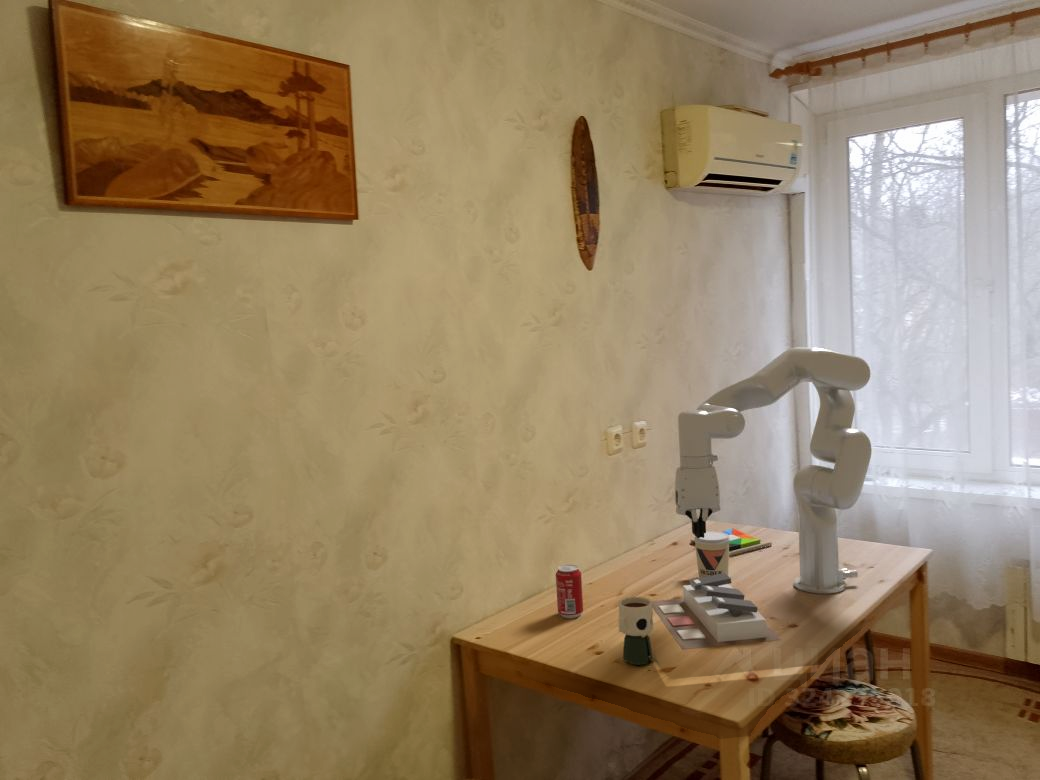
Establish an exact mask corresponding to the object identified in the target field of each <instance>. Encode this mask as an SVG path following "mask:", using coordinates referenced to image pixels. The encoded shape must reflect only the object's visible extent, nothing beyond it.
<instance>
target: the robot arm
mask: <svg viewBox="0 0 1040 780" xmlns="http://www.w3.org/2000/svg"><path fill="white" fill-rule="evenodd" d="M870 379H871V369H870V366H869V364H868V363H867V362H866V360H865V359H863V358H862V357H859V356H856V355H852V354H851V355H850V354H848V353H847V354H846V353H842V352H838V351H833V350H830V349H824V348H819V347H798V346H796V347H791V348H789V349H786V350H785V351H783V352H782V353H781V354H779V355H778V356H776V358H774V359H773V360H771V361H770V362H769V363H767V364H766V365H765V366H764V367H762V368H761V369H760V370H758V371H757V372H756V373H754V374H753V375H751V376H749V377H747V378H744V379H741V380H739V381H738V382H736V383H733V384H731V385H729V386H727V387H725V388H722V389H720V390H718V391H717V392H715V393H714V394H713V395H712V396H710V397H708V398H707V399H705V400H704V402H702V403H701V404H700V405H699V406H698V407H697V408H696V409H689V410H683V411H681V412H680V413H679V414H678V417H677V424H678V442H679V443H678V445H679V465H680V466H677V467H676V469H675V470H676V471H675V480H674V481H675V482H674V504H675V505H676V508H675V513H676V514H677V515H680V516H687V517H688V518H689V519H690V520H691V533H692V534H693V535H694V537H695V536H696V537H697V538H700V537H702V538H704V533H706V532H707V523H706V522H707V521H708V518H709V517H711V515H712V514H715V513H717V512H719V511H721V505H720V503H721V495H720V485H719V479H718V475H717V470H716V467H715V466H714V463H715V462H717V461H718V460H719V457H718V455H714V454H713V453H712V452H713V451H712V439H718V440H719V439H721V440H730V439H734V438H736V437H738V436H740V435H741V434H742V433H743V431H744V429H745V427H746V420H745V418H744V415H743V413H741V412H744V411H748V410H753V409H760V408H764V407H767V406H771V405H773V404H775V403H777V402H778V401H779V400H780V399H782V397H784V396H785V395H786V394H788V393H789V392H790V391H792V390H793V389H794V388H796V387H797V386H799V384H801V383H803V382H804V383H805V382H807V383H812V384H813V387H814V388H815V389H816V392H817V394H818V397H819V409H818V414H817V417H816V421H815V424H814V428H813V431H812V435H811V437H810V438H811V440H810V444H809V450H810V454H811V456H812V457H813V458H814V459H816V460H819V461H821V462H826V463H829V464H834V467H833V468H831V467H828V466H827V467H826V466H821V465H816V464H815V465H814V464H811V465H805V466H803V467H801V468H799V469H798V470H797V472H795V475H794V477H793V482H792V483H793V493H794V497H795V501H796V506H797V515H798V519H797V520H798V551H799V552H798V553H799V556H798V557H799V575H798V576H797V577H795V578H794V580H793V585H794V587H795V588H797V589H798V590H801V591H803V592H807V593H813V594H835V593H840V592H843V591H844V590H845V589H846V587H847V585H846V582H845V580H846V579H853V578H858V576H859V574H858V571H857V570H856V569H850V570H849V569H848V568H840V566H839V565H840V564H839V563H840V561H839V558H840V557H839V523H838V521H839V520H838V516H837V513H836V512H837V511H836V510H840V511H841V510H842V511H843V510H845V511H846V510H848V509H849V510H850V509H851V508H853V507H854V506H855V505H856V503H858V501H859V498H860V496H861V493H862V490H863V487H864V483H865V480H866V478H867V473H868V470H869V466H870V462H871V458H872V443H871V440H870V438H869V437H868V435H867V434H866V433H865V432H864V431H862V430H860V429H857V428H852V425H853V420H854V417H855V413H856V412H855V410H856V407H855V401H854V398H853V395H852V393H851V391H852V392H855V391H859V390H862V389H864V388H865V386H867V384H869V381H870ZM697 510H699V515H698V514H697V513H698V512H697Z"/></svg>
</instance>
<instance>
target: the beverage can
mask: <svg viewBox="0 0 1040 780" xmlns="http://www.w3.org/2000/svg"><path fill="white" fill-rule="evenodd" d="M582 582H583V581H582V571H581V570H580V569H579V566H578V565H577V564H576V565H575V564H564V565H563V564H562V565H560V566H558V567H557V571H556V573H555V585H556V601H557V602H556V603H557V604H556V605H557V613H558V614H559V615H561V617H562V618H564V619H574V618H575V619H576V618H579V617H580V616H581V614H582V613H583V611H584V603H583V602H584V601H583V600H584V599H583V585H582V584H583V583H582Z"/></svg>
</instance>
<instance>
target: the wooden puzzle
mask: <svg viewBox="0 0 1040 780" xmlns="http://www.w3.org/2000/svg"><path fill="white" fill-rule="evenodd" d="M718 532H723V533H726V534H727V535H728V536H729V538H730V541H729V557H734V556H736V555H741V554H744V553H743V552H745V553H748V552H747V551H749V552H751V551H750V550H753V551H755V550H754V549H757V550H759V549H758V548H761V547H765V546H769V545H772V546H773V543H772V542H771V541H766V542H765V543H762V544H761V543H760V542H762V541H763V540H761V539H760V538H757V537H754V536H752V535H749V534H747V533H744V532H743V531H740V530H739V529H735V528H729V529H724V530H719V531H718ZM690 544H695V540H694V538H693V539H690ZM769 547H770V546H769ZM765 548H766V547H765ZM761 549H762V548H761ZM740 553H741V554H740Z"/></svg>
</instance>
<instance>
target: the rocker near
mask: <svg viewBox="0 0 1040 780" xmlns="http://www.w3.org/2000/svg"><path fill="white" fill-rule="evenodd" d="M711 601H712V602H713V604H714V605H715V606H716V607H717V608H722V609H727V610H728V611H729V612H730V613H731V614H732V615H733V616H735V617H737V616H740V615H741V613H742V611H747V612H755V613H757V612H758V606H757V605H755V603H754V602H752V601H751V600H748V599H745V600H741V599H732V598H724V597H716V596H712V600H711Z"/></svg>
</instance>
